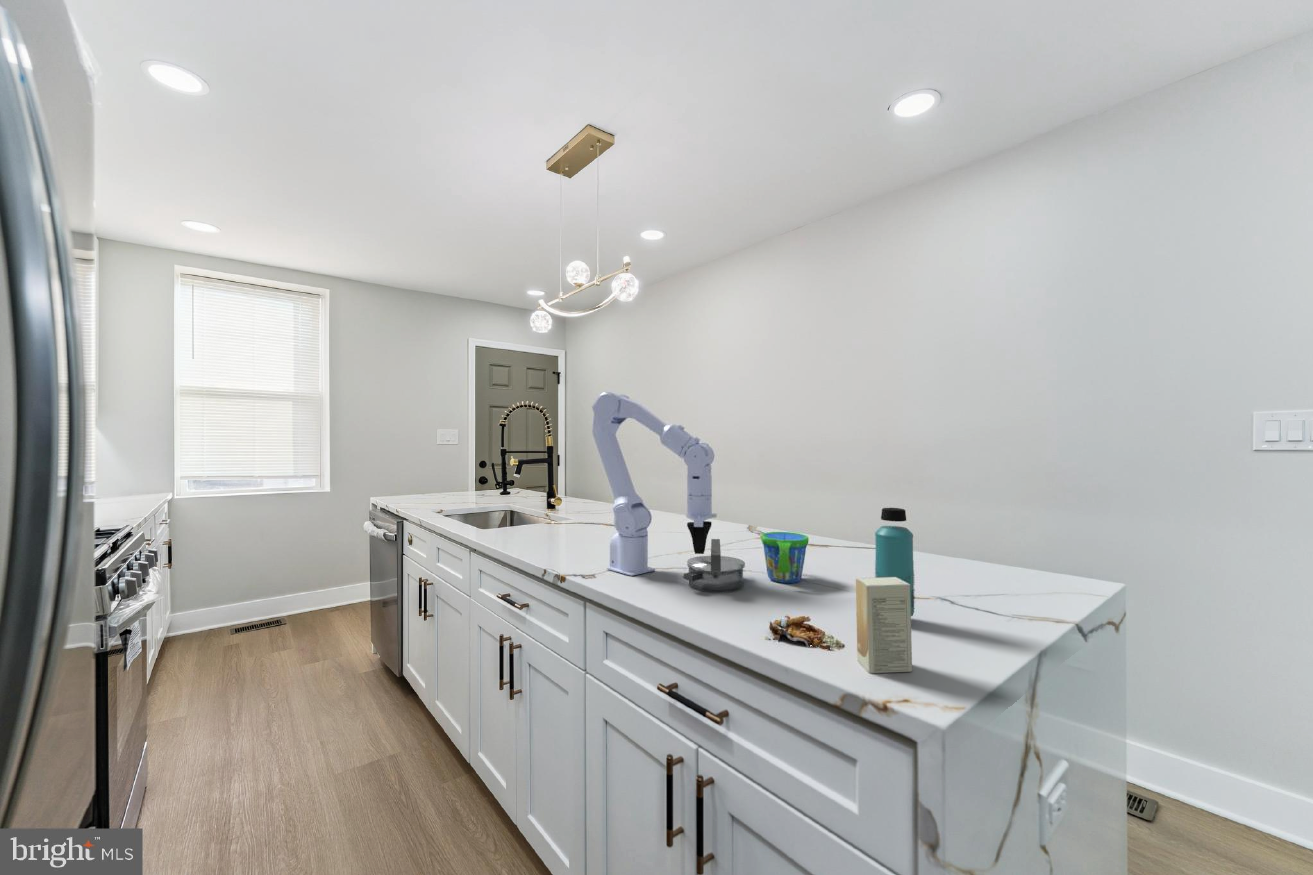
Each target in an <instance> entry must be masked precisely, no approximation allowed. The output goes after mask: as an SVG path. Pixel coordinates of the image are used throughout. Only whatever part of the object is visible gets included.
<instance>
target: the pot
mask: <svg viewBox="0 0 1313 875" xmlns="http://www.w3.org/2000/svg"><path fill="white" fill-rule="evenodd" d="M745 563H746V562H745V561H744V568H745V567H746V566H745V565H746V564H745ZM744 568H743V569H741V570H738V571H733V572H705V571H699V570H694V569H691V568H689V567H688V572H684V573H683V580H685V581H688V587H690V588H692V589H693V590H696V591H700V592H706V593H730V592H732V593H733V592H737V591H739V590H741V589H743V588H744Z"/></svg>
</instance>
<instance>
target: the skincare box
mask: <svg viewBox="0 0 1313 875" xmlns="http://www.w3.org/2000/svg"><path fill="white" fill-rule="evenodd" d="M855 591H856V592H855V602H856V603H855V604H856V606H855V608H856V650H857V652H856V654H857V656H856V657H857V662H858V663H859V664H860V665H861V666H862V667H863V668H864V670H866V672H868V673H869V674H880V673H886V674H887V673H888V674H889V673H906V672H908V673H909V672H913V652H912V650H913V648H912V644H913V643H912V616H911V602H910V584H908V583H906V582H904V581H902V580H901V579H899V578H897V577H879V578H876V577H856V578H855Z"/></svg>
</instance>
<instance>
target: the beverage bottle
mask: <svg viewBox="0 0 1313 875" xmlns="http://www.w3.org/2000/svg"><path fill="white" fill-rule="evenodd" d="M880 515H881V516H880V520H882V521H886V522H906V521H907V515H906V509H904V508H900V507H884V508H882V509H881V514H880ZM874 537H875V540H874V541H875V561H874V575H875V578H879V577H897V578H899V579H901V580H902V581H904V582H906V583H908V584H910V602H911V617H913V616H914V613H915V608H916V606H915V605H916V602H915V601H916V600H915V599H916V594H915V592H916V588H915V587H914V586H915V581H916V579H915V572H916V571H914V570H915V568H916V567H914V566H915V564H914V563H915V562H914V534H913V533H912V531H910V530H909V529H908V528H907V527H905V526H899V525H883V526H880V527H879V528H878V529H877V530H875V532H874Z"/></svg>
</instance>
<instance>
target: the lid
mask: <svg viewBox="0 0 1313 875" xmlns="http://www.w3.org/2000/svg"><path fill="white" fill-rule="evenodd" d="M710 543H711V544H710V555H701V556H695V557H691V558H689V559H687V560H686V565H687V567H688V569H689V568H691V569H694V570H699V571H705V572H733V571H738V570H741V569H743V570H744V568H745V567H744V562H745V561H744V560H743V559H740V558H737V557H733V556H732V557H731V556H725V555H721V553H722V552H721V540H720V538H711V541H710Z"/></svg>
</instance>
